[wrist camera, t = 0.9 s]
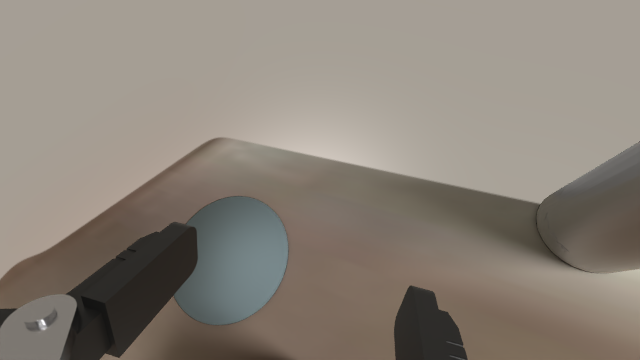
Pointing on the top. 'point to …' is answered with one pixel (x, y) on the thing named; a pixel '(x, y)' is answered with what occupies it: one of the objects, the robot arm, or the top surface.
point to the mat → (234, 261)
